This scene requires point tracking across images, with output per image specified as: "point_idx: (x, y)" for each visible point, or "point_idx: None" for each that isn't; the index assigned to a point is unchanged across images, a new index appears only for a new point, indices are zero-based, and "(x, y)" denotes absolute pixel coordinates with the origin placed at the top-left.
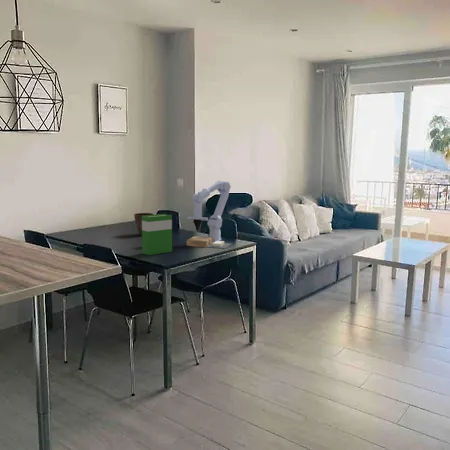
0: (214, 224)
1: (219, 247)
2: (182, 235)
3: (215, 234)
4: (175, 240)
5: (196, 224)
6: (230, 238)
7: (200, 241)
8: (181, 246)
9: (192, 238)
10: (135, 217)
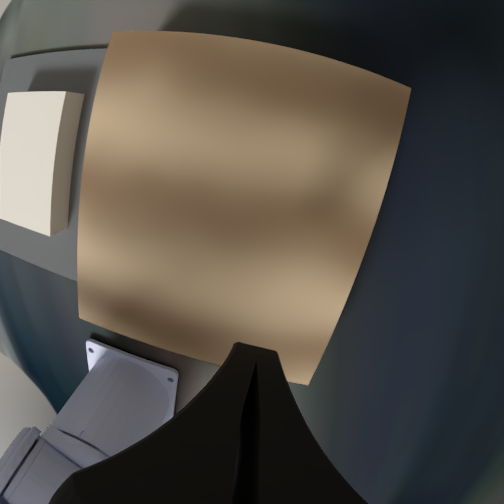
0: (32, 466)
1: (33, 59)
2: (380, 489)
3: (82, 393)
4: (467, 368)
5: (259, 453)
6: None
7: (187, 33)
8: (431, 71)
9: (337, 230)
10: None
